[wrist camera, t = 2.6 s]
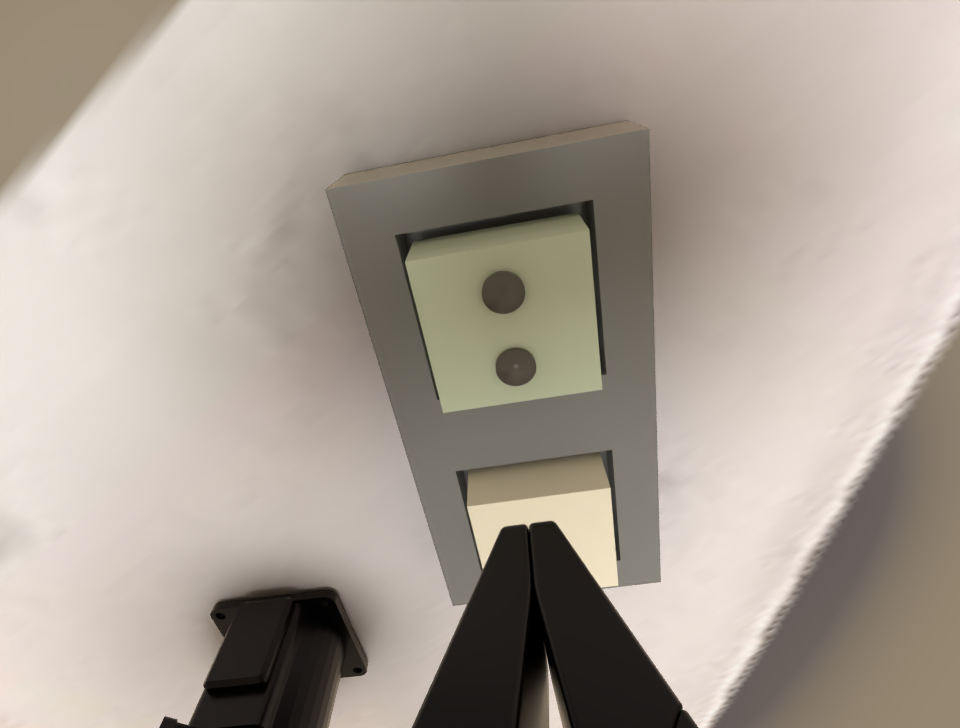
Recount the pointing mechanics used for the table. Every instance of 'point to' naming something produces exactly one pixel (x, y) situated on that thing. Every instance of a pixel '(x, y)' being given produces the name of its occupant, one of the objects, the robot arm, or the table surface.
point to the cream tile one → (548, 506)
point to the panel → (535, 423)
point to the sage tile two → (508, 312)
